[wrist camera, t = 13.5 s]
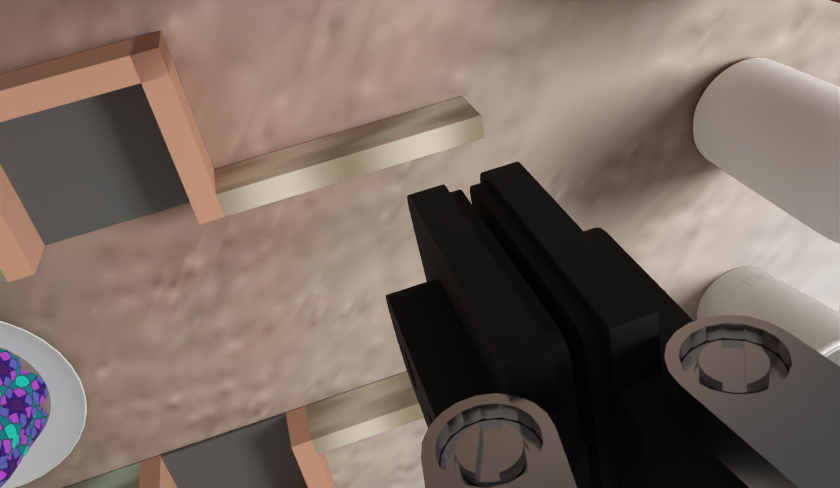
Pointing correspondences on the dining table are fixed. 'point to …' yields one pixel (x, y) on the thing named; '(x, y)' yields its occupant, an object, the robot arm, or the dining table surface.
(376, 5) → the dining table surface
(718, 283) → the dixie cup
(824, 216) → the can
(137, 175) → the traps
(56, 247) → the dining table surface
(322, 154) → the track
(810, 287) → the dining table surface
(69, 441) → the pudding
